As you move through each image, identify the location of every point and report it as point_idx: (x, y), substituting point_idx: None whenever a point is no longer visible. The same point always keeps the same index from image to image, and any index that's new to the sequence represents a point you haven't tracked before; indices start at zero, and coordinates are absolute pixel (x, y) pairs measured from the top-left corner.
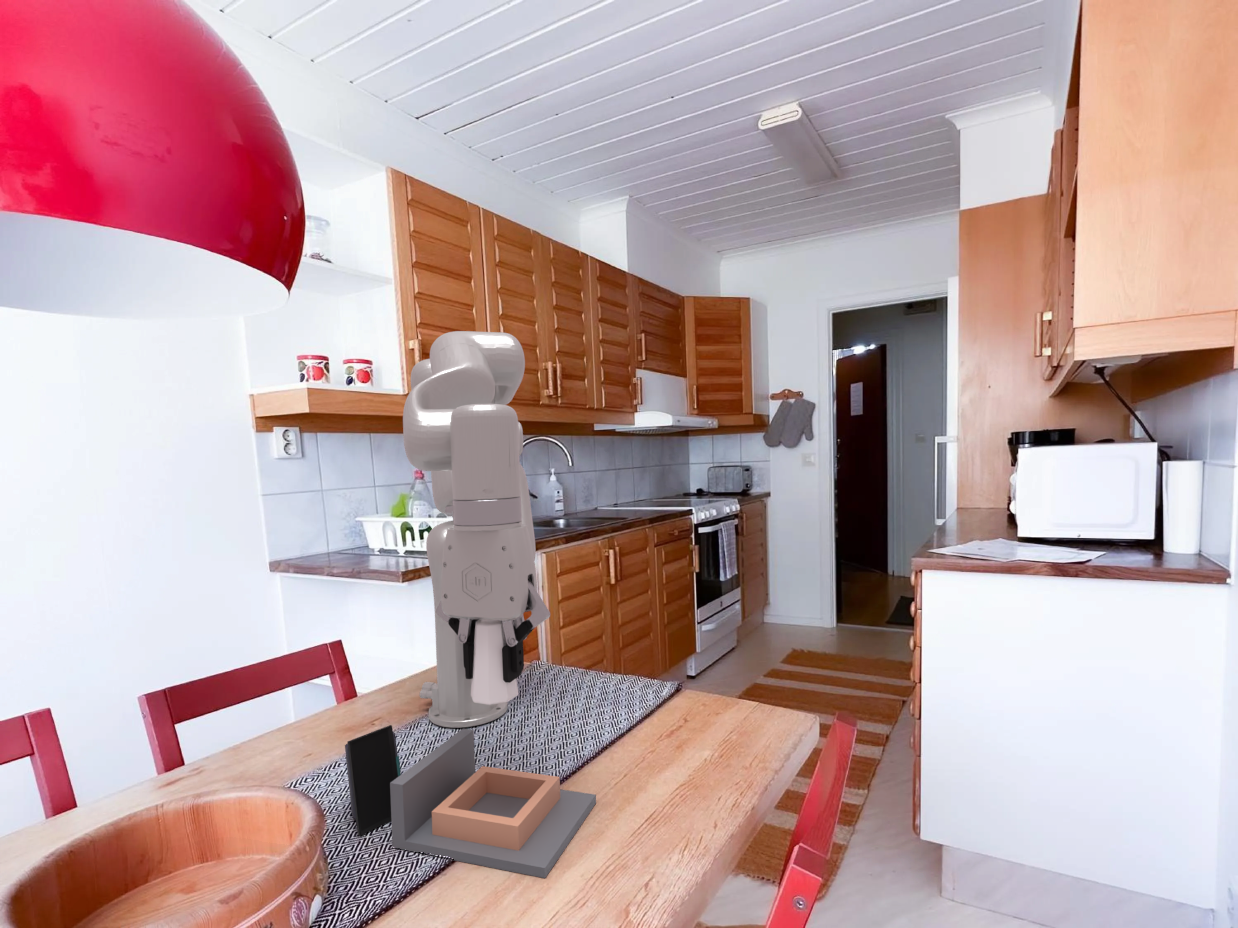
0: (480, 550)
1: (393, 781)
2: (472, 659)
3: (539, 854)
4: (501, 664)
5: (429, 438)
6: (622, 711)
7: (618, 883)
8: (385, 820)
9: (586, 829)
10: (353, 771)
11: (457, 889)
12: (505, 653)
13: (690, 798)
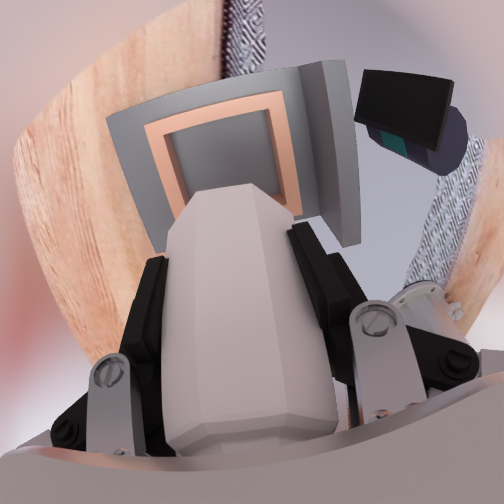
0: None
1: (343, 64)
2: (301, 271)
3: (125, 130)
4: (167, 290)
5: None
6: None
7: (53, 156)
8: (360, 100)
9: (131, 204)
10: (417, 76)
11: (180, 48)
12: (135, 322)
13: (93, 294)
